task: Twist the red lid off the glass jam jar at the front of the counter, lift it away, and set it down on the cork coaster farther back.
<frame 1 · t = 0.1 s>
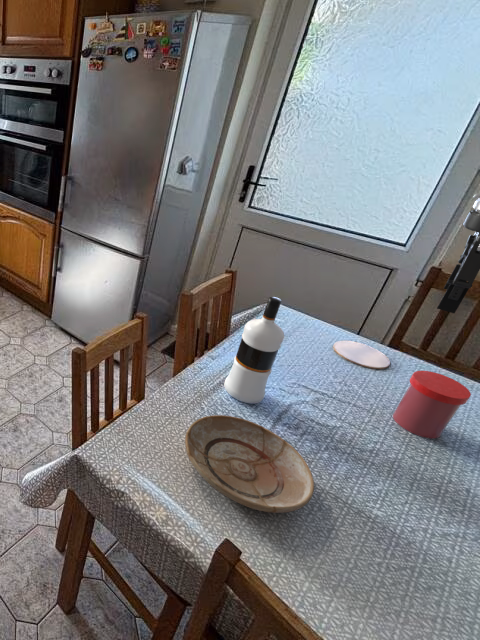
hand: (448, 300, 95), 31 cm above the table, tool pointing down, fingers open, 13 cm apart
ceramic bowl: (240, 471, 91), on the table
coaster: (360, 354, 125), on the table
vodka: (242, 393, 112), on the table
jam jar: (416, 424, 101), on the table
lid: (439, 385, 96), point 13 cm above the table, screwed on, not yet turned
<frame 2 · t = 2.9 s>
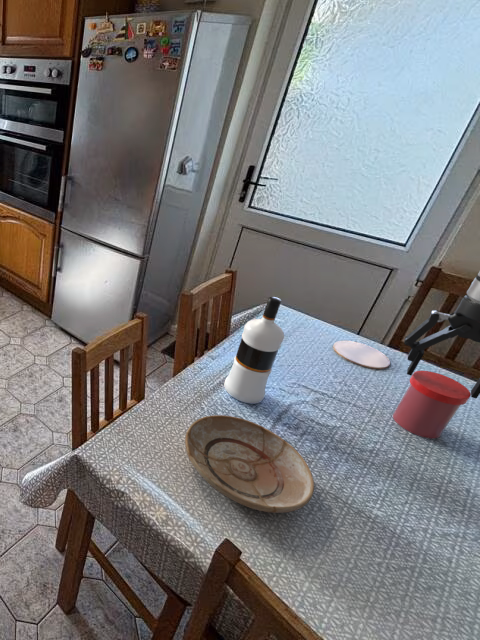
hand: (440, 383, 96), 13 cm above the table, tool pointing down
lid: (439, 385, 96), point 13 cm above the table, screwed on, not yet turned, touching gripper
everything else where it was.
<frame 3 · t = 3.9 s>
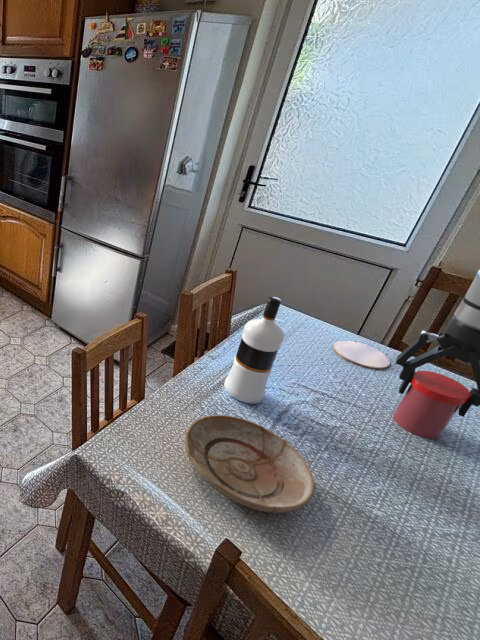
hand: (430, 401, 98), 8 cm above the table, tool pointing down, fingers closed on lid, 9 cm apart
lid: (439, 385, 96), point 13 cm above the table, screwed on, not yet turned, touching gripper
everything else where it was.
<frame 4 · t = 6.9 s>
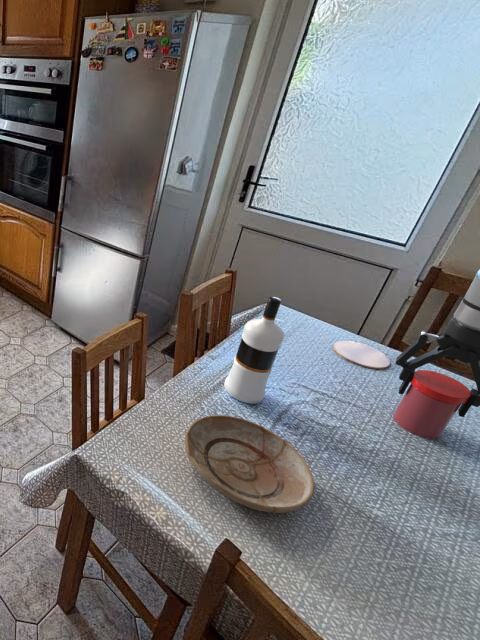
hand: (430, 401, 98), 8 cm above the table, tool pointing down, fingers closed on lid, 9 cm apart
lid: (440, 384, 96), point 13 cm above the table, turned 70° so far, risen 0.2 cm, still on its thread, touching gripper
everything else where it was.
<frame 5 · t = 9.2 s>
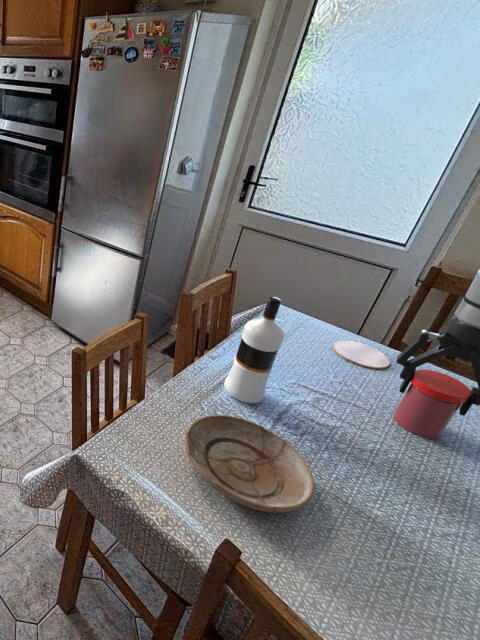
hand: (430, 400, 98), 8 cm above the table, tool pointing down, fingers closed on lid, 9 cm apart
lid: (440, 384, 96), point 13 cm above the table, turned 140° so far, risen 0.4 cm, still on its thread, touching gripper
everything else where it was.
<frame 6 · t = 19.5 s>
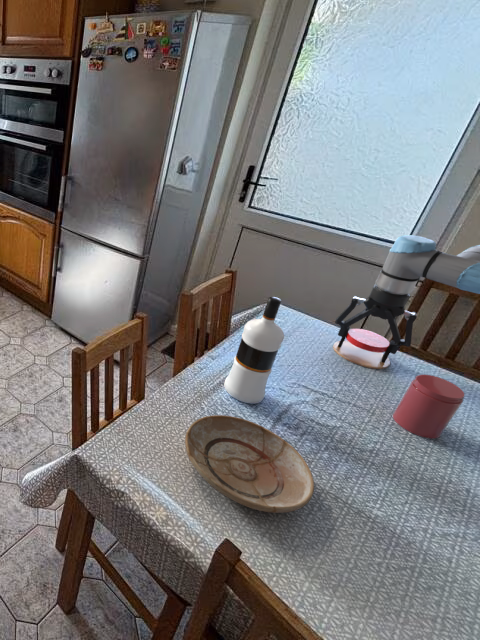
hand: (361, 352, 125), 1 cm above the table, tool pointing down, fingers closed on lid, 9 cm apart
lid: (367, 339, 123), point 6 cm above the table, off its thread, touching gripper
everything else where it was.
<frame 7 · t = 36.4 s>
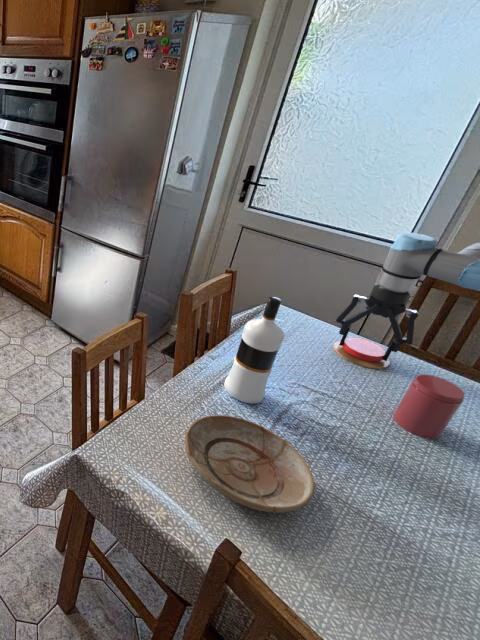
hand: (362, 350, 125), 2 cm above the table, tool pointing down, fingers closed on lid, 9 cm apart
lid: (364, 347, 124), point 3 cm above the table, off its thread, touching gripper
everything else where it was.
when the fingers open (3 cm above the table, at t = 37.0 s): lid drops 2 cm, resting on coaster.
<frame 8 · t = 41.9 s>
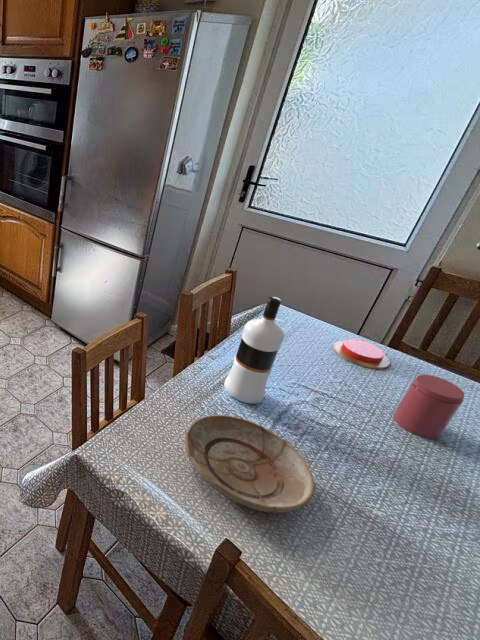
lid: (362, 349, 125), point 2 cm above the table, off its thread, touching coaster
everything else where it was.
at the end: lid came off its thread; lid inside the target area on the coaster (0.0 cm from its centre), point 2.0 cm above the coaster's base; the gripper is holding nothing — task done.
